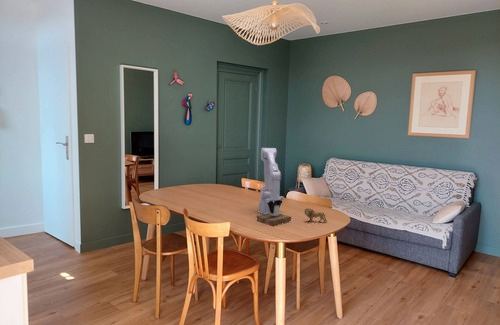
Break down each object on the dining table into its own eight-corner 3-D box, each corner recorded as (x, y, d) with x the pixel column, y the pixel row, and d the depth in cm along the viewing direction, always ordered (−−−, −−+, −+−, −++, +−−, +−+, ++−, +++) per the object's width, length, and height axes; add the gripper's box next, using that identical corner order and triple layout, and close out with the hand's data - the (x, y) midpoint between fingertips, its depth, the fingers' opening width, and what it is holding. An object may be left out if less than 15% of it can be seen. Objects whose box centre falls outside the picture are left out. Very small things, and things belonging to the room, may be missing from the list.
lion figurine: (304, 223, 227) (305, 208, 226) (303, 220, 232) (303, 206, 231) (328, 223, 227) (329, 209, 226) (326, 220, 233) (327, 207, 231)
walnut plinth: (256, 220, 228) (257, 216, 228) (274, 216, 239) (274, 212, 239) (273, 226, 218) (273, 221, 218) (290, 221, 229) (291, 216, 229)
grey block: (269, 214, 228) (270, 205, 227) (274, 213, 231) (274, 204, 230) (274, 216, 225) (274, 206, 224) (278, 215, 228) (279, 205, 227)
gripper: (271, 193, 218) (271, 215, 220) (287, 190, 228) (286, 211, 230) (263, 191, 223) (262, 213, 225) (279, 188, 233) (278, 209, 235)
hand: (274, 212), depth 228 cm, fingers open, 4 cm apart
